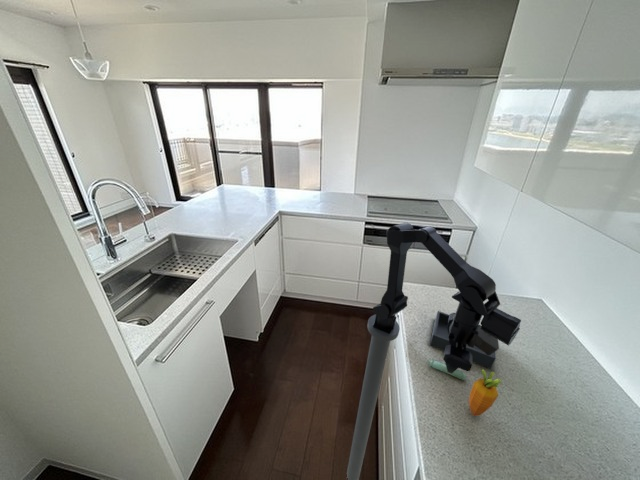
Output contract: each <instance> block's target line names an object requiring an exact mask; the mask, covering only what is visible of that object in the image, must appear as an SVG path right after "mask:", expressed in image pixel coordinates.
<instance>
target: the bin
mask: <svg viewBox="0 0 640 480" xmlns="http://www.w3.org/2000/svg"><path fill="white" fill-rule="evenodd" d="M449 316H450V314H448V313H446V312H442V311H439V310H437V313H436V315H435V318H434V324H433V328H432V334H431V337H430V342H429V346H432V347H434V348H436V349H439V350H442V351H443V352H444V351H445V347H446V346H447V345H450V344H449V338H448V328H447V326H448V318H449ZM481 326H482V325H481V324H479V325H478V327H481ZM466 351H469V352H470V353H471V355H472V363H473V364H474V363H475V364H477V365H479V366H482V367H484V368H487V369H489V370H491V369H492V368H493V366H494V363H495V361H496V359H497V356H496V352H494V353H493V354H491V355H490V356H489V355H487V354H485V352H483V351H482V350H480V349H479V348H477V347H476V346H475V345H474V347H473V348H472V347H469V346H468V345H467V344H466Z"/></svg>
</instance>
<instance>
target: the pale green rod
mask: <svg viewBox="0 0 640 480" xmlns="http://www.w3.org/2000/svg"><path fill="white" fill-rule="evenodd" d="M429 366H430V367H431V368H434V369H436V370H438V371H441V372H443V373H445V374H447V375H450V376H452V377H454V378H457V379H460V380H462V381H465V380H466V379H467V374H466V373H465V372H463V371H461V370H458V369H457V370H456V371H454V372H453V373H449V372H448V371H447V367H446V364H444V363H442V362H439V361H437V360H434V359H431V360H430V361H429Z"/></svg>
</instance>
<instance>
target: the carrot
mask: <svg viewBox="0 0 640 480" xmlns="http://www.w3.org/2000/svg"><path fill="white" fill-rule="evenodd" d="M481 373H482V378H479V379H476V380H475V381H474V382H473V385H472V387H471V390H470V393H469V398H468V399H469V400H468V405H469V410H470V414H471V415H472V416H473V417H477V416H478V417H479V416H481V415H483V414H484V413H485V412H487V411H488V410H489V409H490V408H491V407H492V406H493V405H494V404H495V401H496V400H497V399H498V397H499V392H498V389H497V388H500V385H499V384H501V383H502V380H501V379H500V378H496V379H494V380H493V376H495V372H494V371H491V372H490V373H489V375H488V377H487V373H486V370H485V369H483V368H482V369H481Z"/></svg>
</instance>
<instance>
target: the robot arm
mask: <svg viewBox="0 0 640 480" xmlns="http://www.w3.org/2000/svg"><path fill="white" fill-rule="evenodd" d="M413 243H421V244H422V245H423V246H424V247H425V248H426V249H427V251H428V252H429V253H431V255H432V256H433V257H434V258H435V259H436V260H437V261H438V262H439V263H440V265H442V266H443V268H444V269H445V270H446V271H447V272H448V273H449V274H450V275H451V277H452V279H453V281H454V284H455V287H456V288H457V290H458V291H457V292H455V293H454V294H453V295H452V296H451V298H452V299H453V300H455V301H457V302H458V305H457V308H456V310H455V312H452V313H449V315H450V316H449V318H448V326H447V328H448V338H449V344H450V345H447V346H446V347H445V351H444V350H443V358H442V361H443V362H444V363H445V365H446V367H447V371H448V372H449V373H453V372H454V371H456V370H458V369H461V370H462V371H465V372H470V371H471V370H472V367H473V362H472V355H471V353H470V352H469V351H466V344H467V345H468V346H469V347H472V348H473V347H474V345H475V346H476V347H477V348H479V349H480V350H482V351H483V352H485V354H487V355H489V356H490V355H491V354H493V353H494V352H495V353H496V352H497V351H499V350H500V345H499V342H501V343H503V344H505V345H506V346H510V345H511V344H512V342H513V341H514V340H515V338H516V337H517V335H518V333H519V332H520V328H521V322H522V320H521V319H520V318H518V317H517V316H514V315H511V314H509V313H507V312H505V311H503V310H502V309H500V308H498V307H499V306H501V302H500V299H499V297H498V294H497V292H496V291H497V290H496V289H497V285H496V282H495V280H494V279H493V278H491V277H490V276H489V275H488V274H486V273H485V272H484V271H482V270H481V269H480V268H477V267H475V266H472V265H471V264H470V263H468V262H467V261H466V260H465V259H464V258H463V257H462V256H461V255H460V254H459V253H458V252H457V251H456V250H455V249H454V248H453V247H452V246H451V245H450V244H449V243H448V242H447V241H446V240H445V239H444V238H443V237H442V236H441V235H440V234H439V233H438V230H437V229H436V228H434V227H433V226H424V225H418V224H417V225H416V224H415V225H414V224H411V223H409V222H402V223H399V224H395V225H392V226H390V227H389V228H387V230H386V244H387V246H388V248H389V250H390V256H389V267H388V275H387V285H386V291H385V292H384V293H383V295H382V297H381V300H380V303H378V304H377V305H375V306H373V307H372V312H373V314H374V315H376V317H375V322H374V324H373V327H374V328H376V329H379V330H381V331H384V332H386V333H389V334H390V333H391V330H393V329H394V326H395V322H396V321H397V318H398V317H397V316H396V315H397V314H398V313H401V312H402V311H403V310H405V309H406V308H407V307H408V300H409V296H407V295H405V294H404V292H403V287H404V281H405V280H404V279H405V271H406V263H407V255H408V251H409V250H410V248H411V247H412V245H413ZM485 301H486V302H485ZM484 302H485V303H484ZM478 325H481V327H478Z"/></svg>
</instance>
